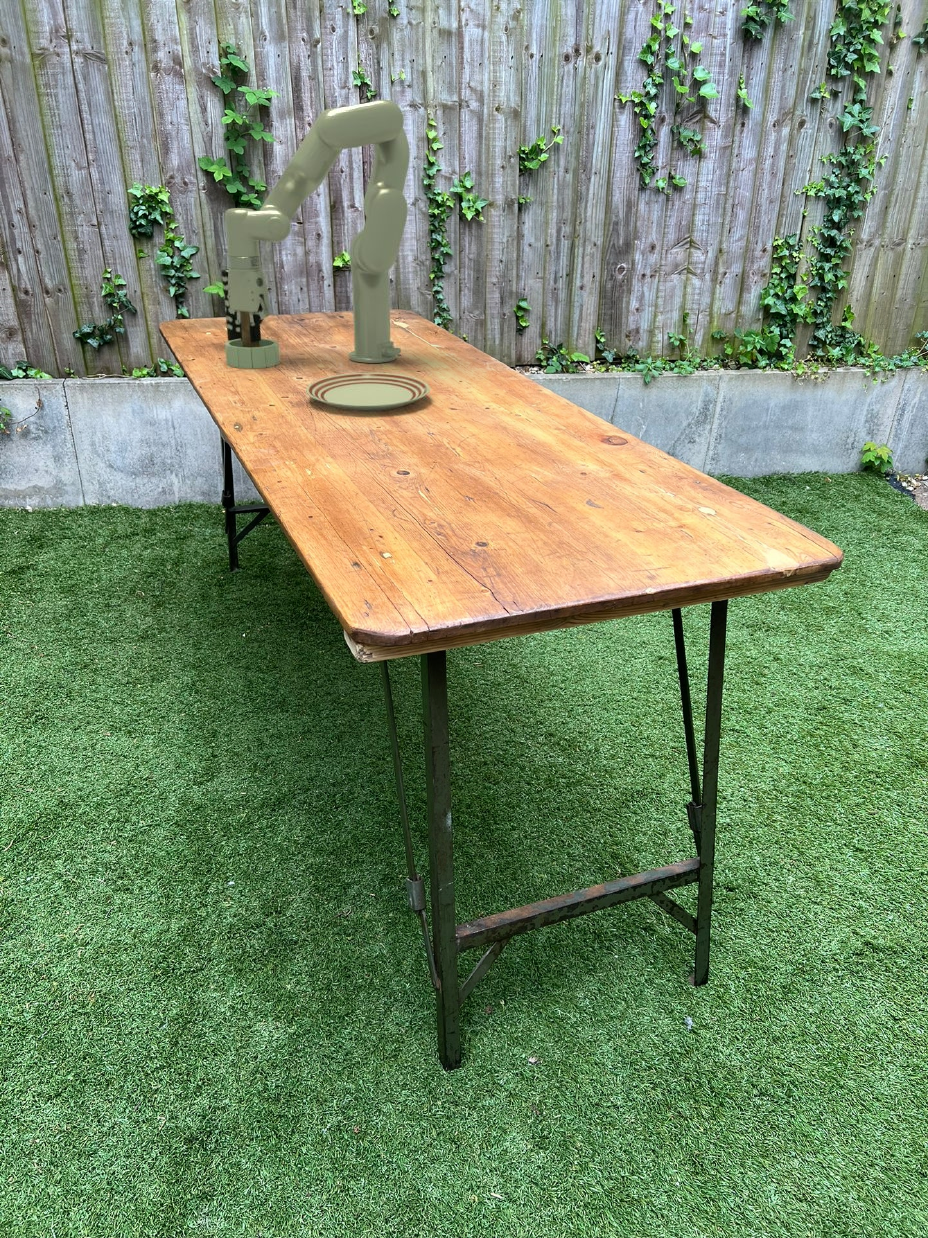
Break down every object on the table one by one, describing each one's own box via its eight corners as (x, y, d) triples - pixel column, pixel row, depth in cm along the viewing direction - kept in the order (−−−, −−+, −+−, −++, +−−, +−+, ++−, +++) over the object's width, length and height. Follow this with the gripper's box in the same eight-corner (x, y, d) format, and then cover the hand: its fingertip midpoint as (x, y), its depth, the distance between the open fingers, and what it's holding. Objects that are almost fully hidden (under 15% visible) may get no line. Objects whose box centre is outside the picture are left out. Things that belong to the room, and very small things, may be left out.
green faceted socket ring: (289, 362, 236) (288, 342, 234) (252, 370, 226) (250, 350, 224) (253, 355, 242) (252, 336, 240) (216, 363, 233) (214, 343, 230)
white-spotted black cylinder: (255, 351, 247) (249, 273, 238) (225, 350, 247) (217, 272, 238) (262, 344, 255) (256, 269, 245) (232, 344, 255) (225, 268, 245)
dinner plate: (412, 421, 190) (412, 406, 188) (288, 412, 194) (287, 396, 193) (441, 391, 214) (442, 376, 212) (330, 382, 218) (330, 368, 217)
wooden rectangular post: (260, 356, 234) (256, 299, 228) (251, 358, 232) (247, 300, 225) (252, 355, 235) (248, 298, 229) (243, 356, 233) (239, 299, 227)
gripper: (279, 265, 222) (284, 342, 230) (233, 259, 230) (239, 334, 238) (257, 267, 216) (263, 346, 225) (210, 261, 224) (217, 338, 233)
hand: (250, 339), depth 232 cm, fingers closed on wooden rectangular post, 2 cm apart
